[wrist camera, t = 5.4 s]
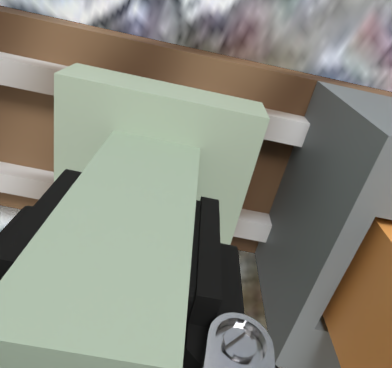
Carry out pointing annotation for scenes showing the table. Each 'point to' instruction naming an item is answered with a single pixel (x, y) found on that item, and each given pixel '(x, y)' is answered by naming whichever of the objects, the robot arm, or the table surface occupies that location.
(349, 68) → the table surface
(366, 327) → the button
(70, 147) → the carriage
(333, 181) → the grey block
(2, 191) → the track
